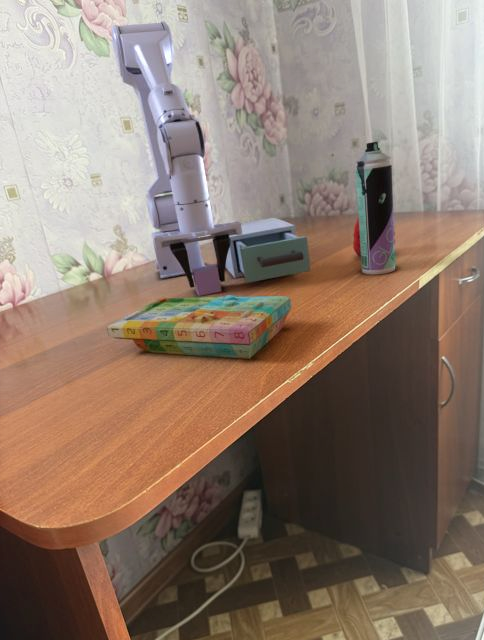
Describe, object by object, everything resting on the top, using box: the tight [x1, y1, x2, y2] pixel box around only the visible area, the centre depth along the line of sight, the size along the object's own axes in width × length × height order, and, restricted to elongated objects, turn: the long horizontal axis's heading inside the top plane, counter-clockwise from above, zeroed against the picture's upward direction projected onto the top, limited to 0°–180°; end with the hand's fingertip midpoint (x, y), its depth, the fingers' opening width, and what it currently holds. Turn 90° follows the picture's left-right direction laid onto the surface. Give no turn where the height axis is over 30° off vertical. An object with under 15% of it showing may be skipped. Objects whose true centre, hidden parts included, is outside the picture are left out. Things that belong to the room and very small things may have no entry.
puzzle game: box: [106, 294, 293, 360], centre depth 63 cm, size 12×5×20 cm
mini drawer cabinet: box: [225, 217, 297, 279], centre depth 99 cm, size 15×13×8 cm
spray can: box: [355, 141, 396, 275], centre depth 80 cm, size 6×6×20 cm
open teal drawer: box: [233, 231, 311, 284], centre depth 88 cm, size 18×11×6 cm, turn 13°
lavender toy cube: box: [191, 263, 222, 297], centre depth 86 cm, size 4×4×4 cm
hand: (207, 283), depth 86 cm, fingers open, 5 cm apart
